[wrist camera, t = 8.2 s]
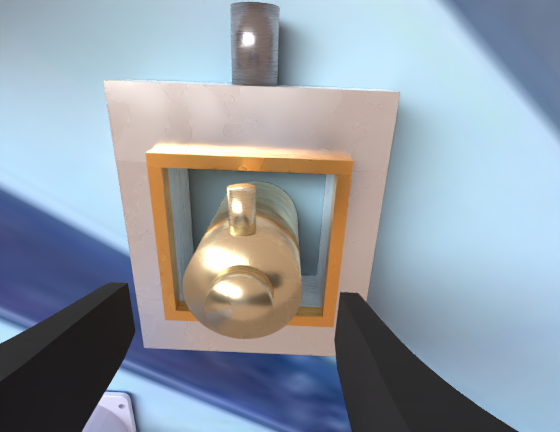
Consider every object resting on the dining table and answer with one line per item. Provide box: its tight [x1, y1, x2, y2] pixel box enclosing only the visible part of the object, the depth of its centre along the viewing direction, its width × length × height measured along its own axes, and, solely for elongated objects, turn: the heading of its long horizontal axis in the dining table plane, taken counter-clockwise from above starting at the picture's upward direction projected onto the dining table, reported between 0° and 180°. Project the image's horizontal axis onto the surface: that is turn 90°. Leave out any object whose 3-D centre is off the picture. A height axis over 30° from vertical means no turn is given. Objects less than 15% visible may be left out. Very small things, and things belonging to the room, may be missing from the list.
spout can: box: [183, 181, 302, 339], centre depth 15 cm, size 6×4×8 cm
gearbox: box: [104, 2, 400, 356], centre depth 17 cm, size 17×12×4 cm
